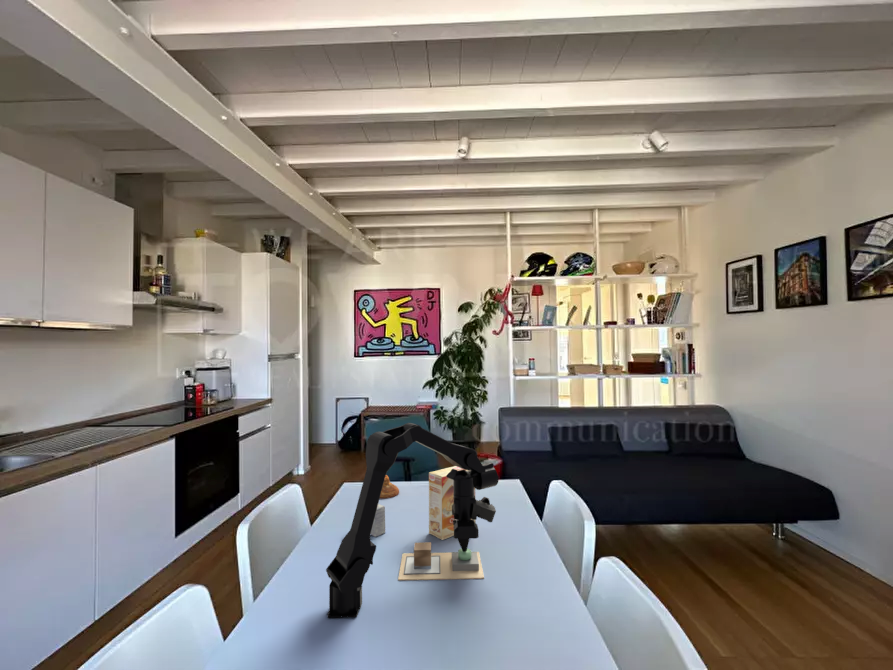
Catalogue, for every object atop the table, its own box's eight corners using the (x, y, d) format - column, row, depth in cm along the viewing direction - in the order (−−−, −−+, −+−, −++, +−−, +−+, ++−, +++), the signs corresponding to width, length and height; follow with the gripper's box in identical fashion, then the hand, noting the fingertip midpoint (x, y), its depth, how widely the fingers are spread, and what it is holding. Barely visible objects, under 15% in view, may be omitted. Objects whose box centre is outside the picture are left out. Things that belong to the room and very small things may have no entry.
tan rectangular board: (398, 580, 111) (398, 578, 111) (402, 554, 125) (402, 552, 125) (484, 578, 111) (484, 576, 111) (478, 552, 125) (478, 551, 125)
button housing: (452, 572, 114) (452, 564, 114) (451, 559, 121) (451, 552, 121) (478, 571, 114) (478, 564, 115) (476, 558, 121) (476, 551, 122)
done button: (458, 567, 116) (458, 554, 116) (458, 561, 120) (457, 548, 120) (472, 567, 116) (471, 554, 116) (471, 560, 120) (470, 548, 120)
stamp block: (414, 569, 115) (413, 550, 116) (414, 560, 120) (414, 542, 120) (430, 568, 115) (430, 549, 116) (431, 560, 120) (431, 542, 120)
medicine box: (385, 533, 139) (385, 505, 140) (374, 537, 136) (374, 509, 136) (370, 526, 145) (370, 500, 145) (359, 530, 141) (359, 503, 142)
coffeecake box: (442, 540, 133) (441, 476, 134) (428, 533, 139) (427, 472, 139) (476, 527, 143) (476, 467, 144) (462, 520, 148) (461, 463, 149)
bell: (374, 489, 184) (374, 472, 184) (402, 490, 182) (401, 472, 183) (366, 498, 172) (366, 480, 172) (395, 499, 171) (395, 481, 171)
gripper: (498, 504, 109) (498, 567, 109) (489, 482, 128) (490, 535, 128) (453, 505, 109) (454, 568, 109) (451, 482, 128) (452, 536, 127)
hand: (464, 550), depth 118 cm, fingers closed
